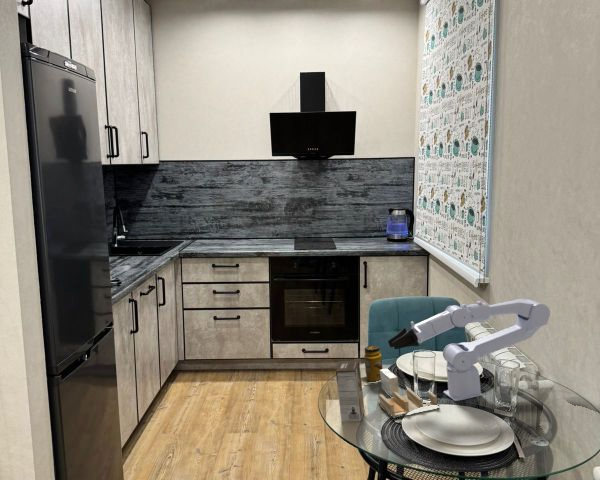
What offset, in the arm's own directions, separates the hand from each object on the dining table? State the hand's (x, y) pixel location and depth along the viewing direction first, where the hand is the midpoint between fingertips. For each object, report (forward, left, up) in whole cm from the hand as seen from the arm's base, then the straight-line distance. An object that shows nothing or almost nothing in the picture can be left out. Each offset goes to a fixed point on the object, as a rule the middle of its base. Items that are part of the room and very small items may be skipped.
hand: (391, 345), depth 174 cm
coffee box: (+15, +1, -20) cm, 25 cm away
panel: (-2, -9, -20) cm, 22 cm away
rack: (-3, +3, -19) cm, 20 cm away
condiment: (-1, -23, -20) cm, 31 cm away
